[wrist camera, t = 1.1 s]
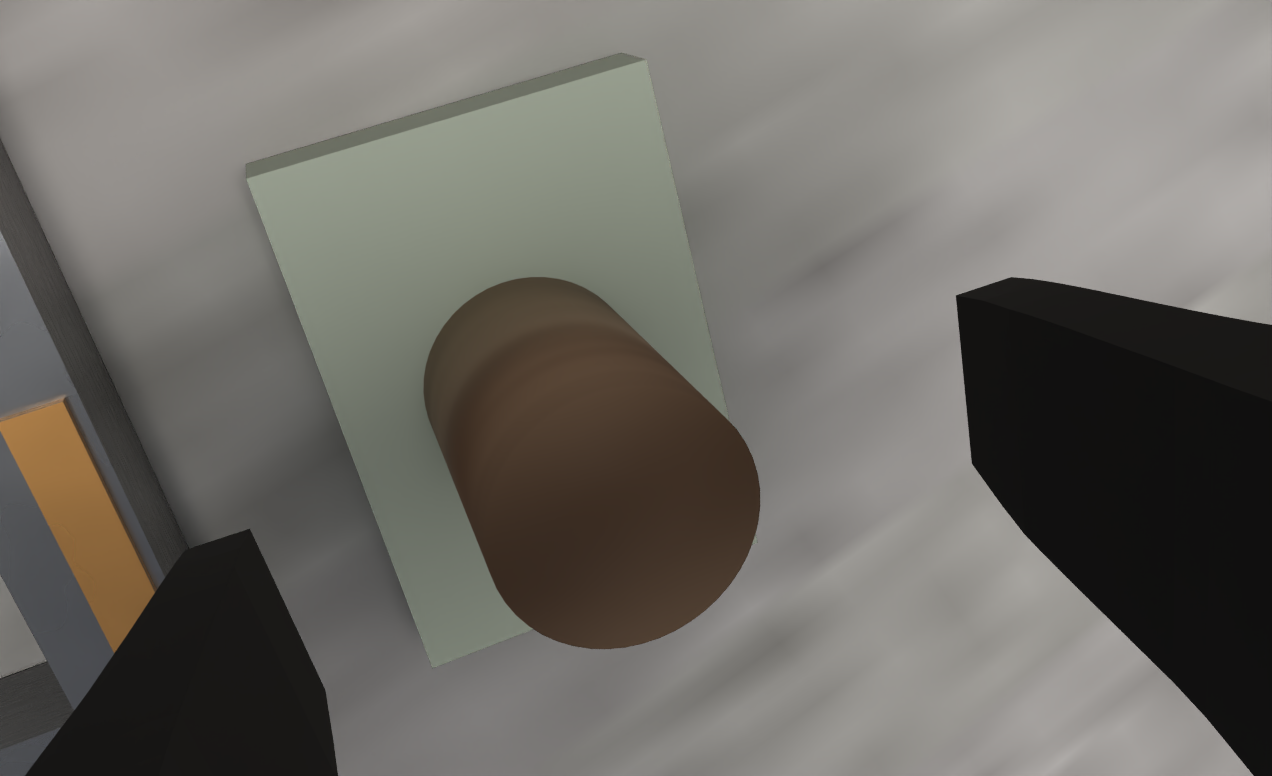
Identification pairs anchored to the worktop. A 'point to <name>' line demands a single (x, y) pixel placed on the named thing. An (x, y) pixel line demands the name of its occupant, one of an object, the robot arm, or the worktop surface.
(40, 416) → the hole plate
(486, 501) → the peg
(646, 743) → the worktop surface
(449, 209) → the pad
